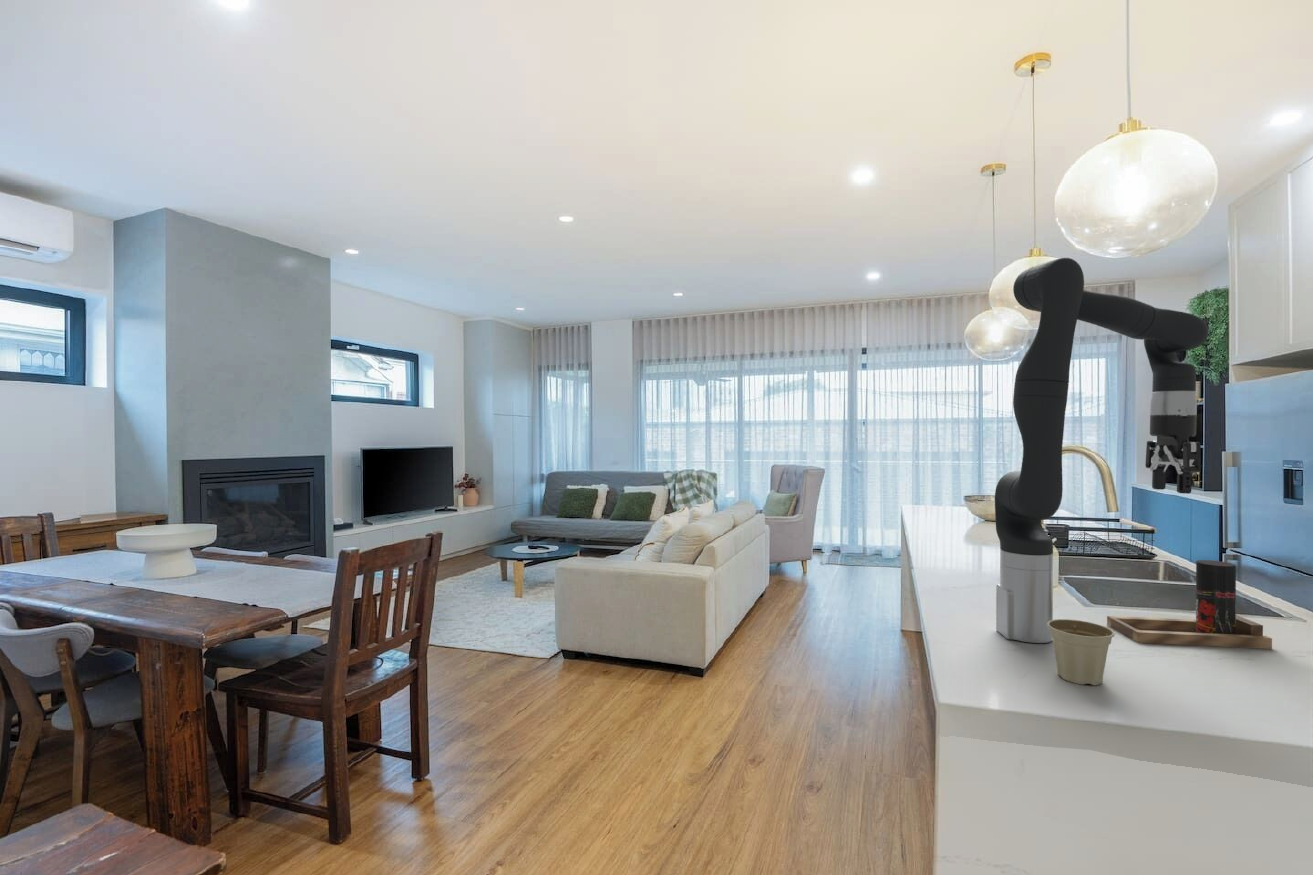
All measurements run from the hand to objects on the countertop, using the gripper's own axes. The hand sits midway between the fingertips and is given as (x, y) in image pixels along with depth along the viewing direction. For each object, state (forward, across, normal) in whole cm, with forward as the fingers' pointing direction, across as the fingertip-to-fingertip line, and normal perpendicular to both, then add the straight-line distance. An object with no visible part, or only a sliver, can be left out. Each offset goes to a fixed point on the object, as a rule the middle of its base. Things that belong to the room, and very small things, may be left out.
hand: (1171, 491), depth 132 cm
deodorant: (+29, +5, +6) cm, 30 cm away
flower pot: (+30, +33, -31) cm, 54 cm away
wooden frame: (+29, +5, 0) cm, 29 cm away
